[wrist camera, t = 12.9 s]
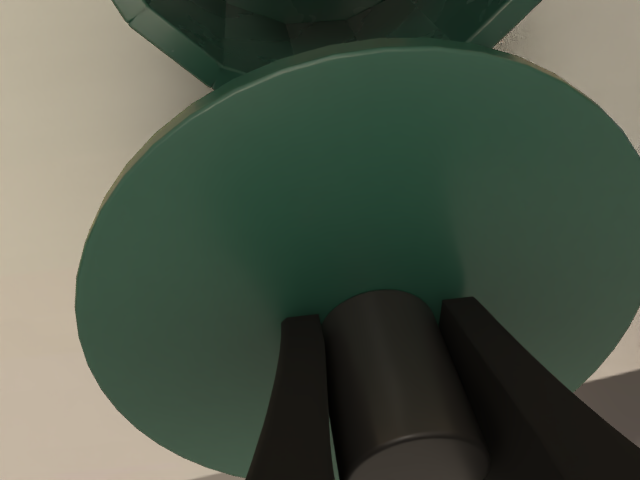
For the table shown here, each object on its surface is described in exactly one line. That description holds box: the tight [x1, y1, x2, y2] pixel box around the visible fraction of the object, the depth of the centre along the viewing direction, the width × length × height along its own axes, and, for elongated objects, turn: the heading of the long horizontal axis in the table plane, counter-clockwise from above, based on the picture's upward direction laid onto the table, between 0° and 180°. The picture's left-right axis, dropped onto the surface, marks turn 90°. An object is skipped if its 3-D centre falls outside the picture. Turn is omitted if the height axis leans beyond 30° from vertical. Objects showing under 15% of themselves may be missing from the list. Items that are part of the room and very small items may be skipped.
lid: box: [75, 38, 640, 480], centre depth 10 cm, size 11×11×4 cm
